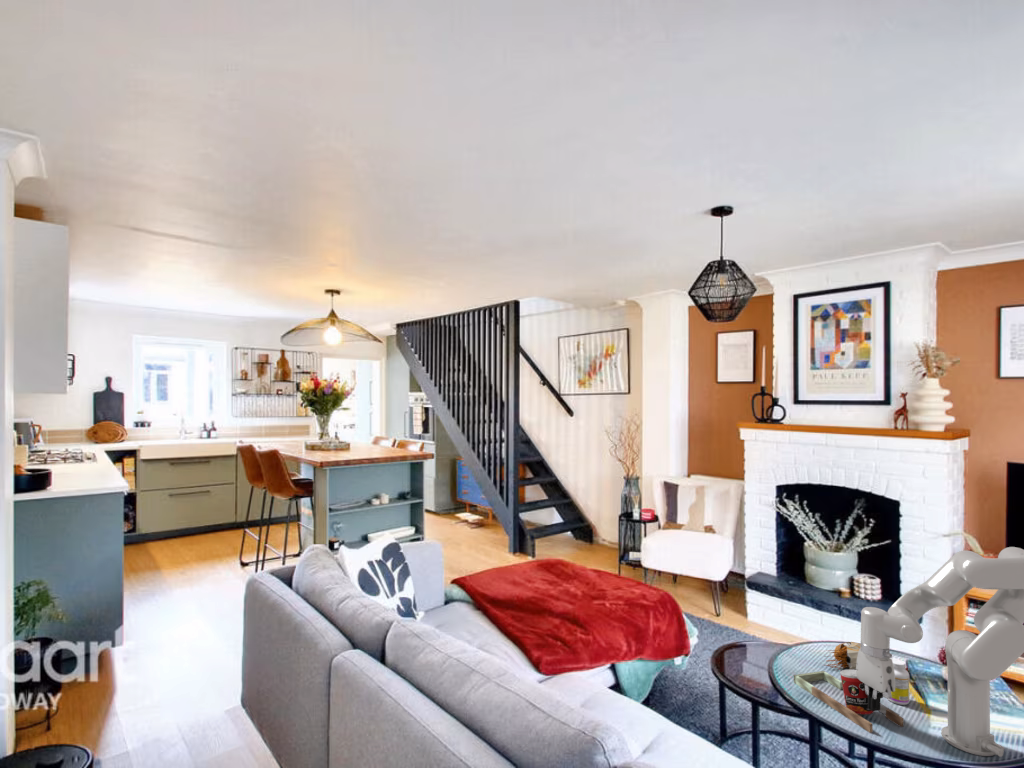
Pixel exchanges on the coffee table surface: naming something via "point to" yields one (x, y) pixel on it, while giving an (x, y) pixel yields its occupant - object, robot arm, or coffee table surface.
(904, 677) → the supplement bottle
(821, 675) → the wooden kitchen tongs
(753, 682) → the coffee table surface
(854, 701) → the canned food
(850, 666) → the nautilus
